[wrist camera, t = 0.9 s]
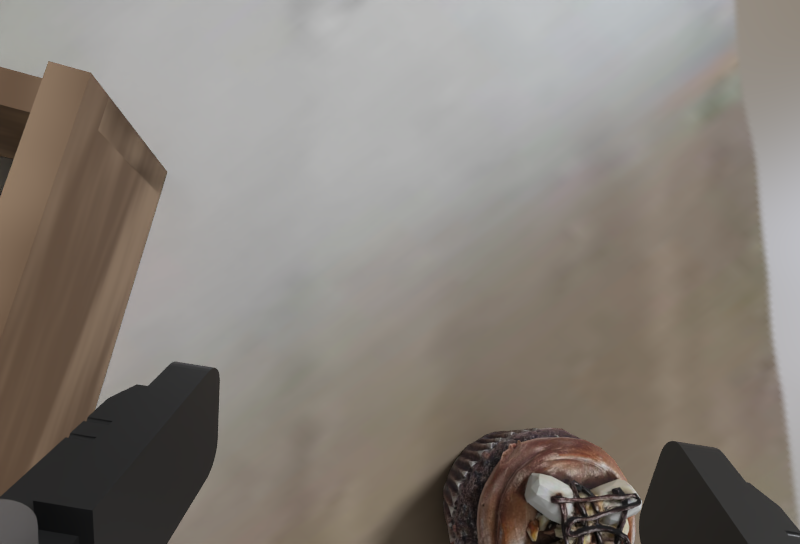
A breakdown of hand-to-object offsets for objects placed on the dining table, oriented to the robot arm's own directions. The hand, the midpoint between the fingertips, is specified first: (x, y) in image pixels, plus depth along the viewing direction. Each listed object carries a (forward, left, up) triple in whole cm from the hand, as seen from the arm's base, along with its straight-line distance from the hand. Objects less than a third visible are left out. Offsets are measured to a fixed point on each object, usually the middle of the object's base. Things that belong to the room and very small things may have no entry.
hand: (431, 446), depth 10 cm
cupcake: (+12, +5, -23) cm, 26 cm away
